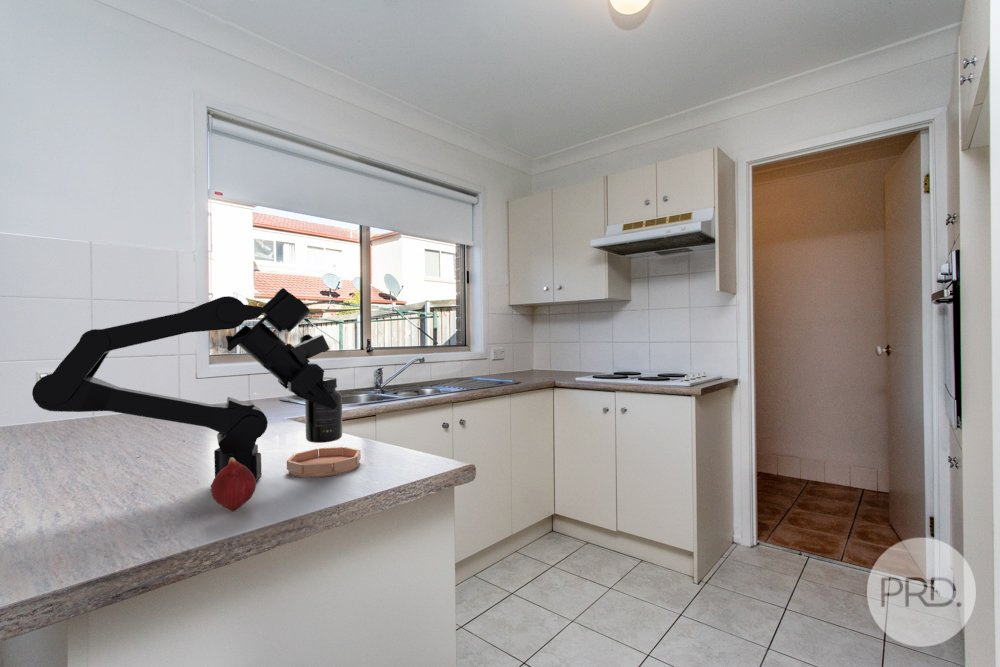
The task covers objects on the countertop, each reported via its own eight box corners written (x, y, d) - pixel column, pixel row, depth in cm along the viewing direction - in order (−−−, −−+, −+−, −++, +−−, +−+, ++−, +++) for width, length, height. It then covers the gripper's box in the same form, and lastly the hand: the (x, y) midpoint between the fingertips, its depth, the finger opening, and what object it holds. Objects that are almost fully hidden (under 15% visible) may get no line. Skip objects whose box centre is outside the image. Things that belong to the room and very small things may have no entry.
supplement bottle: (302, 437, 95) (302, 377, 95) (338, 433, 99) (337, 375, 98) (308, 445, 89) (308, 381, 89) (346, 440, 93) (345, 379, 92)
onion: (264, 503, 74) (262, 452, 74) (240, 518, 68) (239, 463, 68) (229, 503, 75) (228, 452, 75) (202, 517, 69) (201, 462, 69)
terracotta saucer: (280, 479, 86) (280, 466, 86) (299, 460, 99) (298, 449, 99) (354, 475, 88) (354, 462, 88) (363, 456, 101) (363, 445, 101)
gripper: (311, 318, 84) (373, 378, 89) (294, 321, 100) (348, 371, 105) (261, 365, 79) (330, 424, 85) (252, 360, 95) (311, 410, 101)
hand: (331, 404), depth 94 cm, fingers closed on supplement bottle, 6 cm apart
